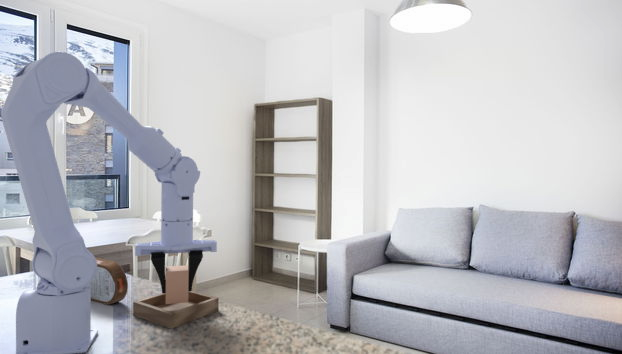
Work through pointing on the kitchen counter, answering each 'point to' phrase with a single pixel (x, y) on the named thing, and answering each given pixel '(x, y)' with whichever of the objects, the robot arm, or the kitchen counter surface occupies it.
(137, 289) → the kitchen counter surface
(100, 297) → the tin
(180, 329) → the kitchen counter surface
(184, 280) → the block
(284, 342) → the kitchen counter surface
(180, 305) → the tray
